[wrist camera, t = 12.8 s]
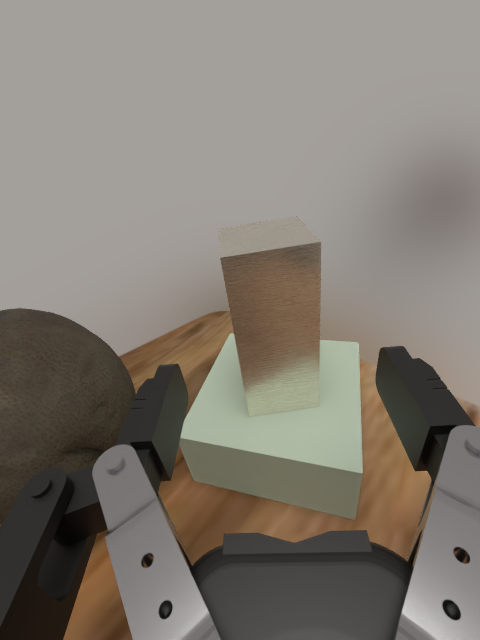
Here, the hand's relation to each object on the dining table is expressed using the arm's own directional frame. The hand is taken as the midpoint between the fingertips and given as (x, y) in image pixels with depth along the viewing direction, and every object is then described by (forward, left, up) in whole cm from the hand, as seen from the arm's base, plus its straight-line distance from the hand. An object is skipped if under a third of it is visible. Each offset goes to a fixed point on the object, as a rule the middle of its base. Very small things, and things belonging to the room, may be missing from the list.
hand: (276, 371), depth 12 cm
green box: (0, +8, -15) cm, 17 cm away
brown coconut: (-18, +5, -15) cm, 24 cm away
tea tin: (0, +8, -9) cm, 12 cm away
